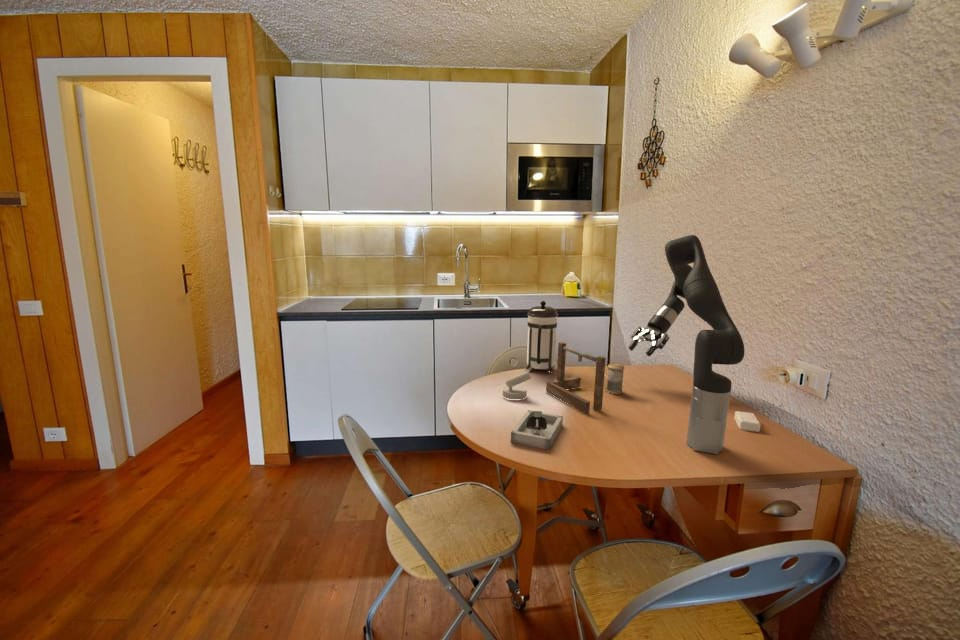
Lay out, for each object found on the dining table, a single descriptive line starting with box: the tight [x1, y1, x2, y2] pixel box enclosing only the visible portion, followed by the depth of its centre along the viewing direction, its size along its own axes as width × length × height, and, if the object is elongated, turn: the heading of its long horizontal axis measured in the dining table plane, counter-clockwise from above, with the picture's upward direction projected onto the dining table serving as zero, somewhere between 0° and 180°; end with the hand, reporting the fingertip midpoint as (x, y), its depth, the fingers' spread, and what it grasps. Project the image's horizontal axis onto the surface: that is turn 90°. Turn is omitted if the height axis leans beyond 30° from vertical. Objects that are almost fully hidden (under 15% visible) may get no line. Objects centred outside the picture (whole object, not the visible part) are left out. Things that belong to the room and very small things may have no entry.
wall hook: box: [502, 370, 532, 399], centre depth 157 cm, size 9×10×10 cm
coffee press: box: [525, 300, 559, 374], centre depth 186 cm, size 17×16×30 cm
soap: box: [734, 410, 762, 433], centre depth 137 cm, size 9×6×3 cm, turn 160°
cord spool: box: [605, 363, 625, 395], centre depth 164 cm, size 6×6×10 cm
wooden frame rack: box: [545, 341, 607, 415], centre depth 155 cm, size 15×22×18 cm, turn 27°
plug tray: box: [510, 410, 564, 450], centre depth 129 cm, size 17×11×3 cm, turn 157°
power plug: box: [527, 410, 547, 436], centre depth 129 cm, size 6×8×12 cm
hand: (638, 351), depth 167 cm, fingers open, 8 cm apart
